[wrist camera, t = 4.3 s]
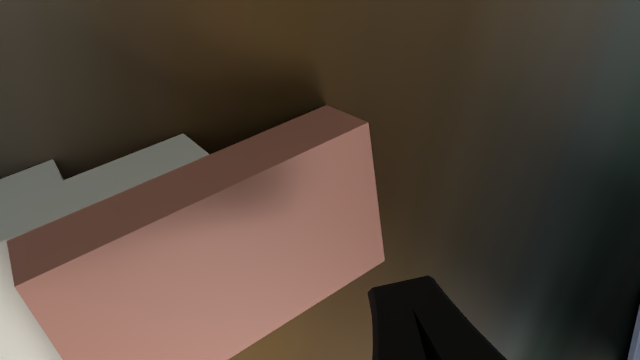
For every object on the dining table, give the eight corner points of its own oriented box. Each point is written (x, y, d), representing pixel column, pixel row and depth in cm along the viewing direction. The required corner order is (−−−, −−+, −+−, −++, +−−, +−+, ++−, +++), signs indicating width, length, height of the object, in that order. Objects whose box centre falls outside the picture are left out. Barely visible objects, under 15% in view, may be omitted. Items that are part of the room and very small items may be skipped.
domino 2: (368, 122, 13) (14, 287, 10) (384, 260, 16) (111, 432, 12) (326, 105, 15) (6, 241, 11) (347, 234, 17) (94, 379, 14)
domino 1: (209, 154, 13) (-215, 332, 9) (251, 288, 16) (-69, 471, 12) (182, 133, 15) (-192, 280, 11) (225, 259, 17) (-65, 413, 13)
